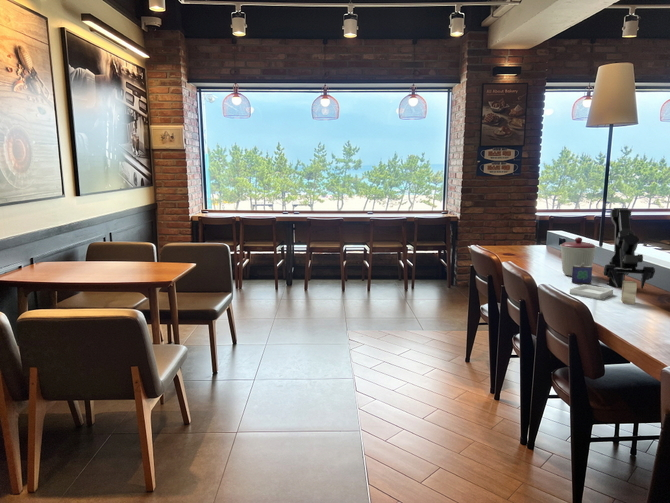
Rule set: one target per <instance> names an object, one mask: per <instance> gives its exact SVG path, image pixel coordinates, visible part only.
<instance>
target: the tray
mask: <svg viewBox="0 0 670 503" xmlns="http://www.w3.org/2000/svg"><path fill="white" fill-rule="evenodd" d="M569 294H570V295H573V296H580V297H583V298H590V299H594V300H599V301H600V300H602V299H605V298H608V297H610V296H613V295H614V289H613V288H608V287H607V288H606V287H602V286H595V285H591V284H579V285H578V286H574V287H571V288H569Z"/></svg>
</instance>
